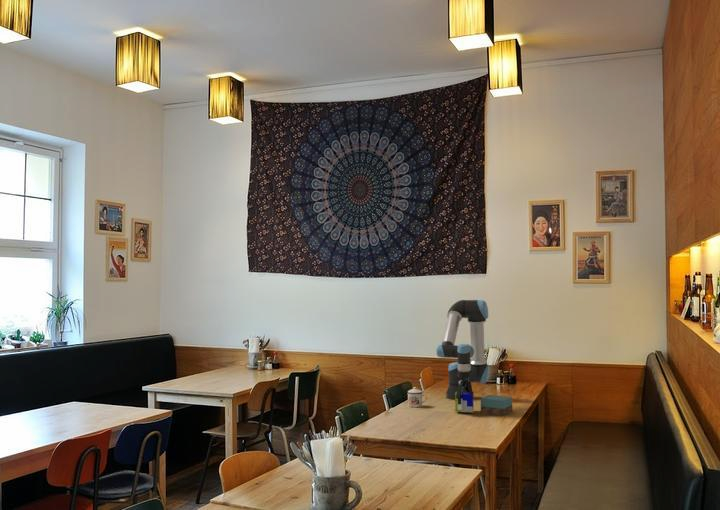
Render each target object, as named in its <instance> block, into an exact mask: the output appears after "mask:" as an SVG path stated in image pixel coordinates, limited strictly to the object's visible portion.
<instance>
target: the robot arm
mask: <svg viewBox="0 0 720 510" xmlns="http://www.w3.org/2000/svg"><path fill="white" fill-rule="evenodd" d="M488 318H489V308H488V304H487V302H486V301H485V300H484V299H483V300H482V299H481V300H480V299H466V300H465V299H460V300H458V301H456V302H455V303H453V304H452V305H451V306H450V308H449V310H448V311H447V315H446V319H447V322H446V324H445V330H444V333H443V338H442V342H441V344H438V345H437V346H436V355H437V357H438V358H443V359H445V358H446V359H447V358H448V359H450V358H451V359H457V361H456V362H451V363H449V364H448V370H447V371H448V385H447V386H448V387H447V389H446V390H447V391H446V393H445V397H446V399H450V400H455V394H456V398H458V410H463V399H462V395H463V392H473V393H474V391H473V388H472V383H475V384H486V383H487V382H488V381H489V377H490V370H491V367H490V365H489V364H488V361H487V359H485V357H486V356H485V329H484V328H485V325H484V324H485V323H486V322H487V319H488ZM462 319H467V322H468V323H469V327H470V329H469V330H470V332H469V333H470V344H468V343H461V344H457V345H455V343H456V339H457V335H458V330H459V326H460V322H461V321H462ZM456 391H457V392H456Z"/></svg>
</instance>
